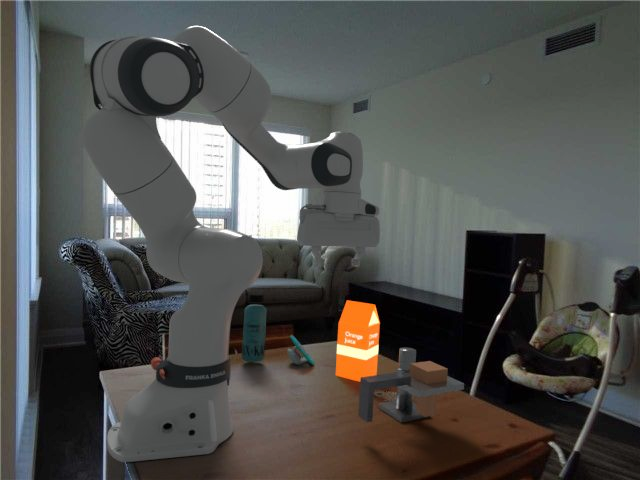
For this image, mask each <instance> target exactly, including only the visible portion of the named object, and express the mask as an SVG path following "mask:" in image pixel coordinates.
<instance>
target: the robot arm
mask: <svg viewBox="0 0 640 480" xmlns="http://www.w3.org/2000/svg"><path fill="white" fill-rule="evenodd" d="M89 75H90V76H89V77H90V82H91V88H92V94H93V103H94V106H95V108H97V109H98V111H96V112H95V113H93V114H91V116H90V117H89V118H88V119H87V120H86V122H85V123H84V124H83V126H82V130H81V135H80V136H81V137H80V138H81V143H82V145H83V147H84V149H85V151H86V152H87V155H88V157H89V158H90V160H91V162H92V163H93V164H92V165H94V167H95V169H96V171H98V173H99V175H100V176H101V178H102V180H103V181H104V182H105V184H106V185H107V186H108V188H109V189H110V191H111V192H112V193H113V195H115V197H116V198H117V200H119V202H120V203H121V205H122V206H123V207H124V208H125V209H126V211H127V212H128V213H129V215H130V216H131V218H132V219H133V220H134V221H135V222H136V224H137V226H138V227H139V228H140V230H141V232H142V234H143V236H144V238H145V241H146V243H147V246H146V251H145V252H146V260H147V263H148V265H149V267H150V268H151V269H152V270H153V271H154V272H156V273H157V274H159V275H160V276H162V277H164V278H165V279H168V280H171V281H173V282H178V283H184V284H188V286H189V287H188V292H187V296H186V299H185V300H184V303H183V305H182V306H181V307H179V308H178V309H177V310H176V311H175V312H174V313H172V315H171V316H170V319H169V327H168V328H169V329H168V354H167V357H166V358H165V359H163V360H162V359H161V358H160V357H157V356H156V357H153V358H152V359H151V361H150V366H151V367H152V368H151V369H153V370H154V371H155V379H154V380H153V381H152V382H151V383H149V384H148V385H146V386H145V387H143V389H141V390H140V391H138V392H137V393H136V394H135V395H133V396H132V397H130V398H129V399H128V401H127V402H126V404H125V406H124V408H123V412H122V416H121V421H119V422H116V423H114V424H113V425H112V426H111V427H110V428H109V430H108V432H107V434H106V449H107V451H108V453H109V455H110V456H111V457H112V458H113V459H115V460H116V461H118V462H121V463H132V462H141V461H150V460H153V461H154V460H159V459H160V460H162V459H168V458H169V459H170V458H171V459H173V458H181V457H191V456H201V455H209V454H211V453H213V452H214V451H215V450H216V449H217V447H218V446H219V445H220V444H222V443H223V442H224V441H226V440H228V439H229V438H230V437H231V436H232V434H233V433H234V429H235V428H234V423H233V419H232V416H231V415H232V413H231V410H230V409H231V407H230V401H229V399H230V398H229V386H230V381H231V371H232V369H231V368H232V367H231V366H232V365H231V357H230V356H229V351H230V350H229V348H230V333H231V322H232V317H233V314H234V311H235V308H236V305H237V303H238V301H239V298H240V297H241V296H242V294H243V293H244V292H245V290H247V289H248V288H249V287H251V286H252V285H253V284H254V283H255V282H256V281H257V279H258V278H259V276H260V274H261V272H262V268H263V265H264V264H263V263H264V260H263V259H264V258H263V251H262V249H261V246H260V244H259V242H258V241H257V239H256V238H254V237H252V236H251V235H248V234H245V233H243V232H240V231H237V230H235V229H229V228H219V227H218V228H217V227H216V228H215V227H207V226H204V225H203V224H201V223H200V221H198V219H197V218H196V216H195V214H194V209H195V207H196V206H195V205H196V203H197V192H196V189H195V188H194V186H193V185H192V183H191V182H190V180H189V179H188V177H187V176H186V174H185V172H184V171H183V170H182V168H181V167H180V165H179V164H178V162H177V160H176V159H175V157H174V156H173V155H172V153H171V151H170V150H169V149H168V147H167V145H166V144H165V143H164V141H162V137H161V135H160V133H159V130H158V123H157V117H166V116H171V115H173V114H176V113H178V112H179V111H181V110H182V109H184V108H185V107H186V106H188V105H189V103H190V102H191V101H192V100H196V101H197V102H198V104H200V105H201V106H202V107H203V108H204V109H205V110H207V111H208V112H209V113H210V114H212V115H213V116H214V117H215V118H216V119H217V120H219V121H220V122H221V124H222V126H223V128H224V129H225V130H226V133H228V135H229V136H230V137H231V138H232V139H233V140H234V141H235V142H236V143H237V144H238V145H239V146H240V147H241V148H242V149H243V150H244V151H245V152H246V153H247V154H248V155H249V156H251V157H252V158H253V160H254V161H256V162H257V163H258V165H260V167H261V168H262V170H263V171H264V172H265V174H266V176H267V178H268V179H269V181H270V183H271V184H272V185H273V186H274V187H276V188H277V189H279V190H282V191H291V190H297V189H322V198H321V204H319V203H318V204H312V203H306V204H305V205H303V206H302V207H301V208H300V210H299V216H298V218H299V224H298V227H297V228H298V229H297V234H296V235H297V237H296V241H297V242H298V244H299V245H300V246H303V247H311V252H312V255H313V257H314V259H315V260H314V261H315V263H314V265H315V267H318V268H321V267H323V268H324V267H325V265H326V264H325V263H326V259H325V258H322V256H321V253H320V252H322V247H336V248H337V247H341V248H342V247H343V248H344V247H346V248H355V250H354V251H355V255H354V257H353V258H352V257H351V258H350V266H351V267H355V268H356V267H361V259H362V258H363V257H364V254H365V253H366V248H377V247H378V245H379V244H380V240H381V239H380V238H381V232H380V231H381V225H380V219H379V218H378V217H377V216H379V214H380V208H379V207H378V206H377V205H375V204H374V203H371V202H369V201H367V200H364V199H363V198H362V188H361V180H362V177H363V170H364V169H363V167H364V154H363V153H364V151H363V145H362V141H361V138H360V137H358V136H357V135H356V134H354V133H351V132H347V131H346V132H345V131H334V132H331V133H330V134H329V135H328V137H326V138H324V139H321V140H319V141H316V142H310V143H301V144H287V143H286V144H285V143H282V142H279V141H277V139H275V138H274V136H273V135H272V134H271V133H270V131H268V130H267V129H266V128H265V127H264V125H262V123H263V122H264V120H265V119H266V116H267V115H268V113H269V110H270V108H271V104H272V103H271V101H272V90H271V87H270V84H269V82H268V81H267V79H266V78H265V77H264V75H263V74H262V73H261V72H260V71H259V69H257V67H255V65H253V64H252V63H251V62H250V61H249V60H248V59H247V57H245V56H244V55H243V54H242V53H241V52H239V50H238V49H236V48H235V47H234V46H232V45H231V44H229V43H228V42H227V41H226V40H225V39H224V38H222V37H221V36H219V35H218V34H216V33H214V32H213V31H211V30H210V29H208V28H207V27H205V26H201V25H200V26H199V25H193V26H189V27H187V28H185V29H183V30H181V31H180V32H179V33H178V34H177V35H176V36H175V37H174V38H173V40H169V39H165V38H160V37H141V36H135V35H134V36H125V37H121V38H118V39H117V38H116V39H113V40H108V41H107V42H105V43H103V44H102V45H100V46H99V47H98V48H97V49H96V51H95V52H94V53H93V55H92V57H91V60H90V64H89Z"/></svg>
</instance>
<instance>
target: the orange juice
mask: <svg viewBox="0 0 640 480" xmlns="http://www.w3.org/2000/svg"><path fill="white" fill-rule="evenodd" d="M377 310H378V309H377V307H376V304H373V303H367V302H361V301H353V300H346V302H345V304H344V307H343V310H342V313H341V316H340V318H339V321H338V325H337V326H338V327H337V328H338V329H337V343H336V364H335V365H336V366H335V376H336V377H340V378H344V379H347V380H352V381H355V382H358V383H360V378H361V377H367V376H374V375H378V374H377V373H378V360H379V359H378V358H379V346H380V345H379V341H380V340H379V339H380V325H381V322H380V319H379V315H378V311H377Z"/></svg>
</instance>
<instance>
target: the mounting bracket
mask: <svg viewBox="0 0 640 480" xmlns="http://www.w3.org/2000/svg"><path fill="white" fill-rule="evenodd" d="M385 391H386V392H387V390H385ZM391 392H392V393H391ZM394 392H395V393H394ZM389 393H391V394H392V395H391V394H390V395H391V396H392V397H394V394H395V397H394V398H392V397H391V396H389V395H388V394H389ZM381 394H382V395H381ZM385 394H386V393H385ZM385 394H384V393H383V392H376V391H374V397H379V398H381V397H383V396H386V395H387V396H388V398H389V399H388V398H387V396H386V398H387V399H388V401H387V400H385V402H390V401H391V400H390V399H392V401H394V400H396V399H397V395H396V394H397V391H388V393H387V394H386V395H385ZM393 399H394V400H393Z"/></svg>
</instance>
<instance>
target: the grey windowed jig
mask: <svg viewBox="0 0 640 480" xmlns="http://www.w3.org/2000/svg"><path fill="white" fill-rule="evenodd" d="M398 352H399V354H398V367H396V368H395V369H396V370H395V371H396V372H388V373H382V374H377V375H374V376H367V377H361V378H360V382H359V394H358V395H359V396H358V397H359V398H358V417H359V418H360V419H362V420H363V421H364V422H366V423H371V422H373V417H374V415H373V413H374V400H375V399H374V398H375V395H374V393H375V391H376V390H383V389H384V390H385V389H389V388H390V389H391V388H396V387H397V388H396V392H397V399H396V400H395V401H385V402H380V403H378V408H379V409H380V410H381V411H383V412H385V413H386V415H387V414H388V415H389V417H392V418H394V419H395V420H396V421H398V422H399V423H406V422H410V421H415V420H420V419H425V418H426V417H424V416H422V415H421V414H419V413H417V412H416V404H417V402H414V396H415V397H416V398H417V397H424V396H429V395H435V394H437V395H440V394H443V393H444V394H445V393H451V392H457V391H461V390H465V383H464V382H462V381H460V380H458V379H455V378H453V377H451V376H449V375H447V381H443V382H436V383H430V384H426V383H424V382H422V381H420V380H418V379H416V378H414V377H412V376H410V375H409V373H410V363H417V362H416V361H417V359H416V357H417V349H415V348H412V347H400V348H399V351H398ZM429 417H431V416H428V417H427V418H429Z"/></svg>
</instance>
